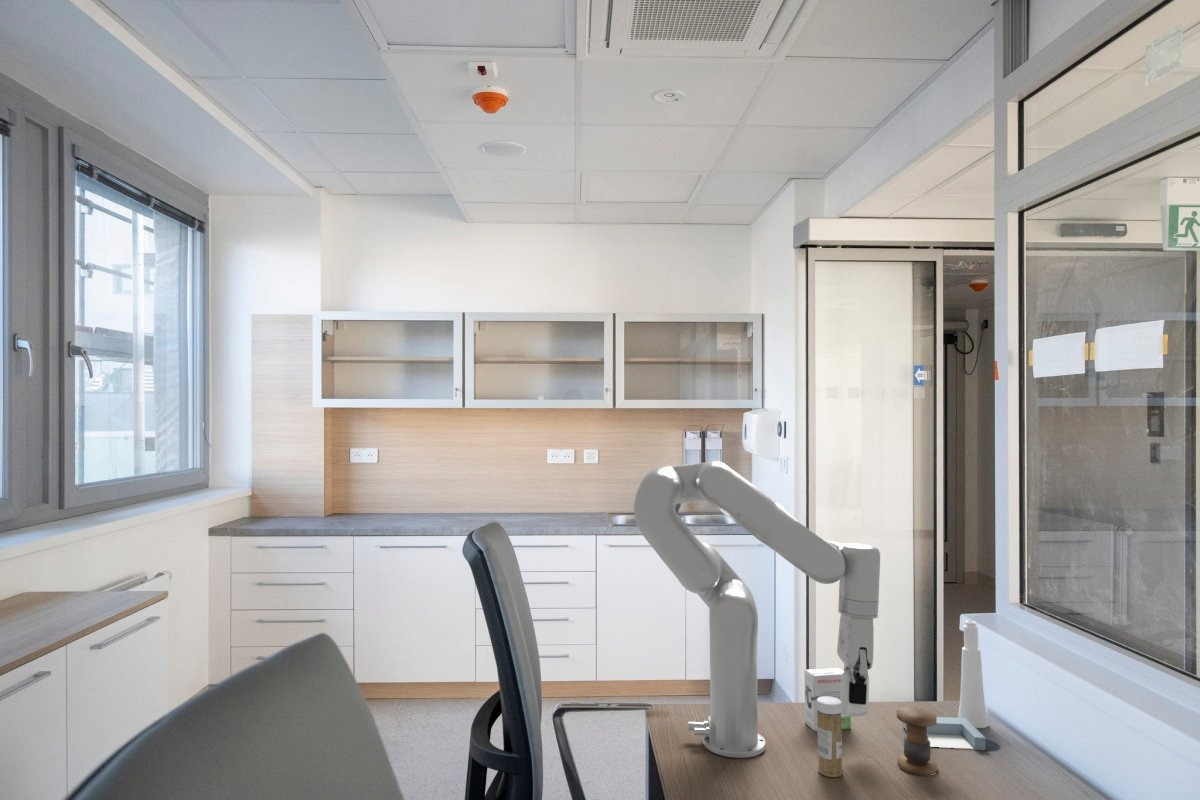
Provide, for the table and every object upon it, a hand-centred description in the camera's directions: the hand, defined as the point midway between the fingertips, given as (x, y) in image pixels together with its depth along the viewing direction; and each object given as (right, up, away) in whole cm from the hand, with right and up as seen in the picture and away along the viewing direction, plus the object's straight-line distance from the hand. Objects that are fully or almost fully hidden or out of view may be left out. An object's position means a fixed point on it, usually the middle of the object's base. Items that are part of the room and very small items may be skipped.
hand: (854, 697), depth 144 cm
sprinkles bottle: (-8, -11, -9) cm, 16 cm away
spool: (+10, -11, -7) cm, 16 cm away
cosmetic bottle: (+31, -12, +14) cm, 36 cm away
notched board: (+21, -11, +6) cm, 24 cm away
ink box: (-1, -12, +13) cm, 17 cm away
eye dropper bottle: (0, -3, 0) cm, 3 cm away
